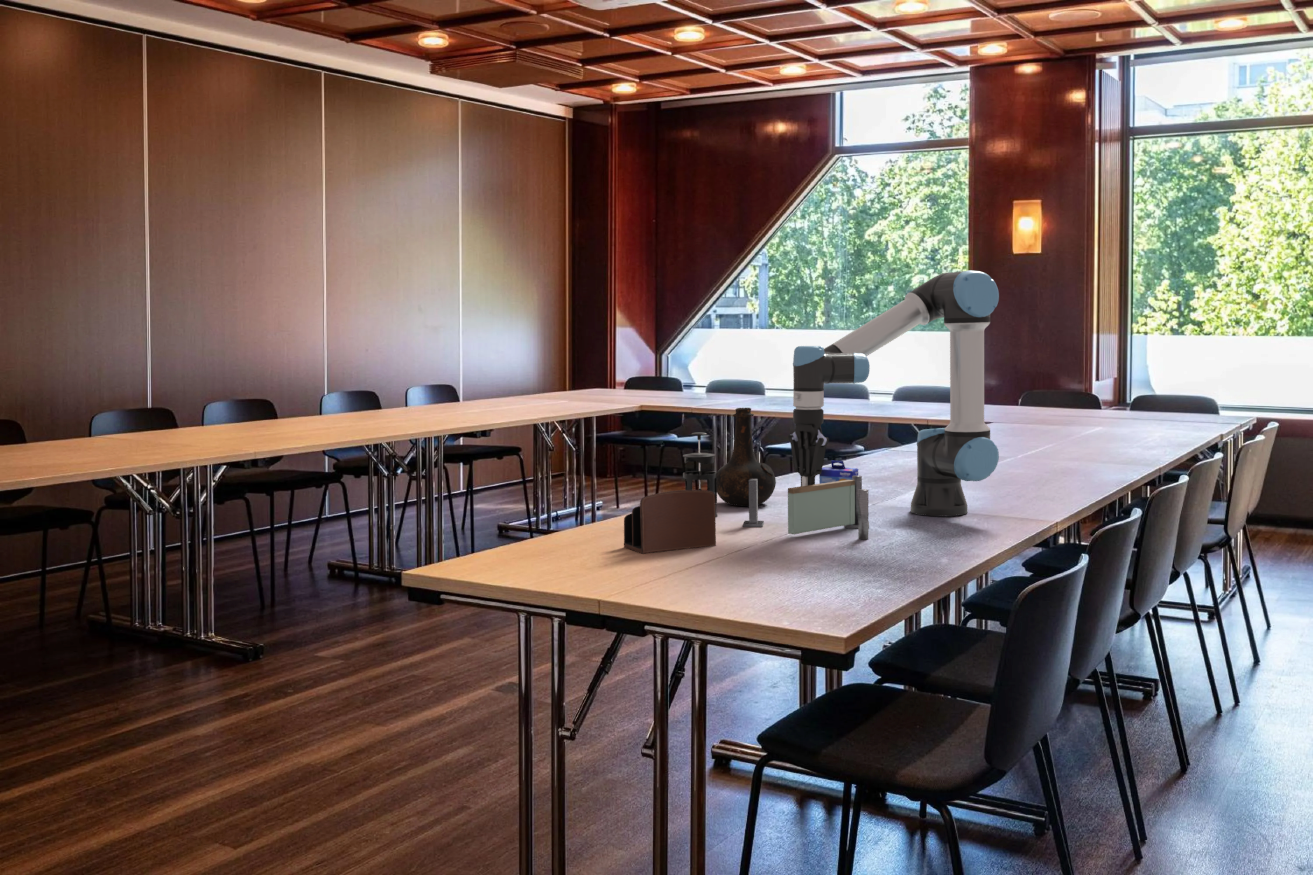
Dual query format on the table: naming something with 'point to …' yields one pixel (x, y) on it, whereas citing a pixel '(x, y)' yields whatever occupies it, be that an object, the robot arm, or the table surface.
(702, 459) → the french press
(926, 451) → the robot arm
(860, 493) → the pair of grey posts
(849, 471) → the ink cartridge box
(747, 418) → the dark brown vase
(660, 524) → the letter holder
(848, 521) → the gate
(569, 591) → the table surface
